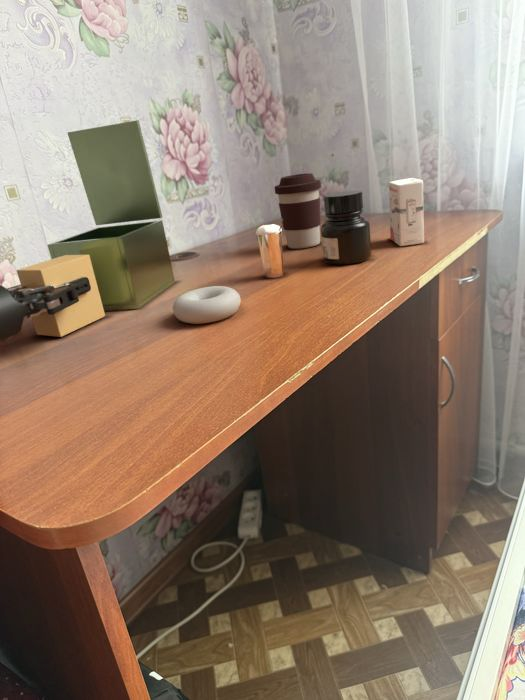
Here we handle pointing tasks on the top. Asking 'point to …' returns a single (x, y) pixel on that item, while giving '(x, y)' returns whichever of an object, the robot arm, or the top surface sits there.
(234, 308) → the donut
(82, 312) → the tan block
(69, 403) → the top surface
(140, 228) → the bin
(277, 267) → the milkshake
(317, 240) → the coffee cup
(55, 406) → the top surface
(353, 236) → the ink bottle
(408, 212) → the ink box
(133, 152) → the bin lid
